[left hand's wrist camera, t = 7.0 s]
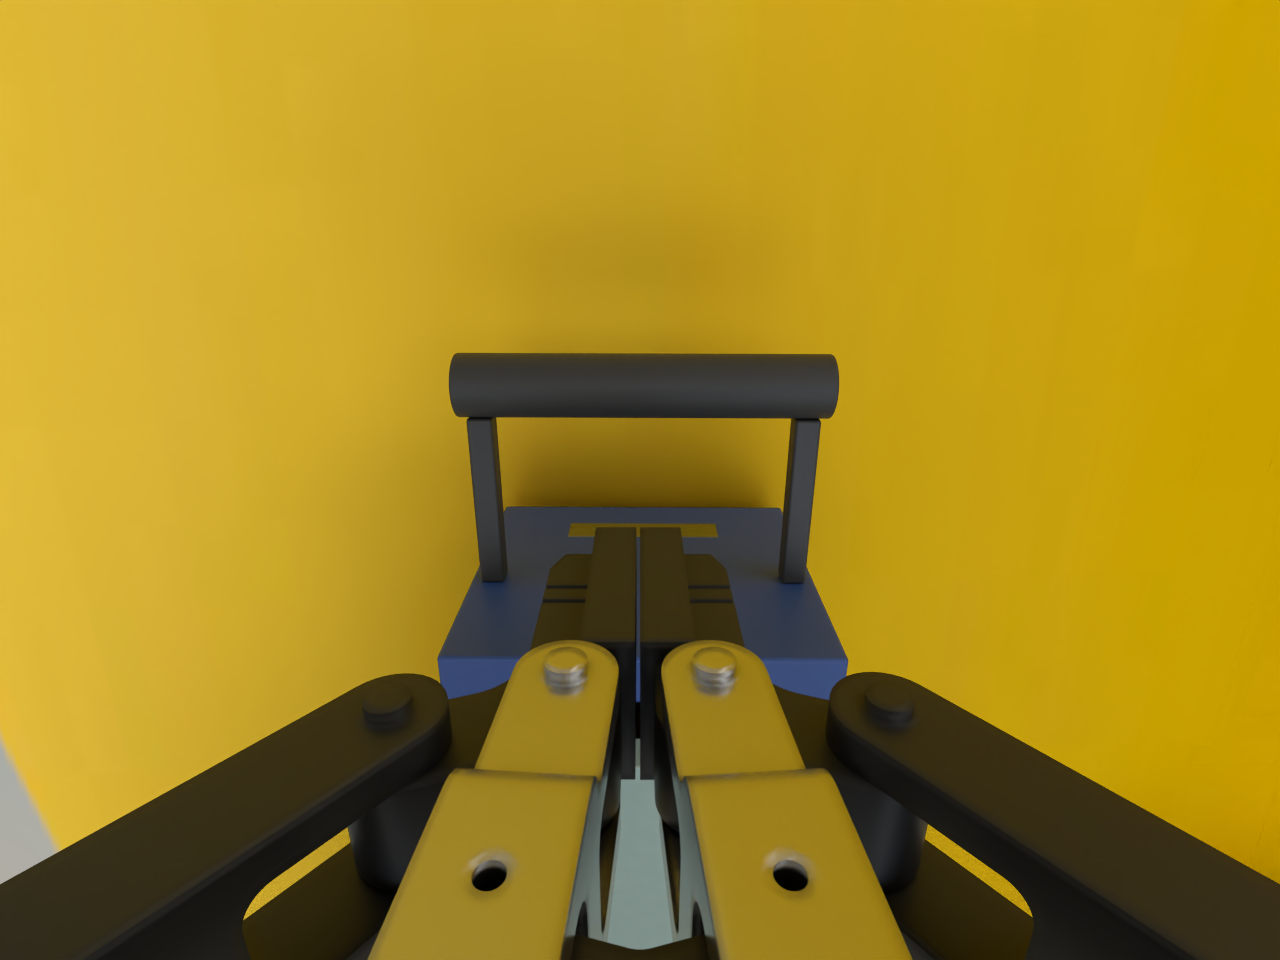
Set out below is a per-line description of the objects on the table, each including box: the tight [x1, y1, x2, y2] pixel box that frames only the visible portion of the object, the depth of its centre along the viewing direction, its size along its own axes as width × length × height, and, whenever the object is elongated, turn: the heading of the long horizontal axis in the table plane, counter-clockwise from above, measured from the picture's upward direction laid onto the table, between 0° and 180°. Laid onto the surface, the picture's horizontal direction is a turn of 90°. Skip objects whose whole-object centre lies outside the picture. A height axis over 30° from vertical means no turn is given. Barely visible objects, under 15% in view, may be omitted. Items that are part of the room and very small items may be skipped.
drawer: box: [437, 353, 848, 739], centre depth 21 cm, size 23×9×8 cm, turn 0°
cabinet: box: [607, 739, 673, 949], centre depth 23 cm, size 18×10×10 cm, turn 0°
